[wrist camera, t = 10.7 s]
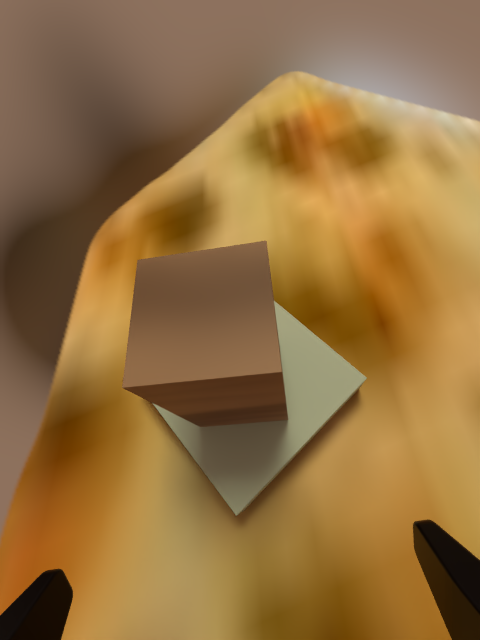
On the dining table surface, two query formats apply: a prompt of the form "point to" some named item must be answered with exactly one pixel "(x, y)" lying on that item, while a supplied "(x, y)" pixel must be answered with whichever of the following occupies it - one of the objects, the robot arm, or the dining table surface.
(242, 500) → the sage slab
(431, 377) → the dining table surface
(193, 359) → the walnut block
